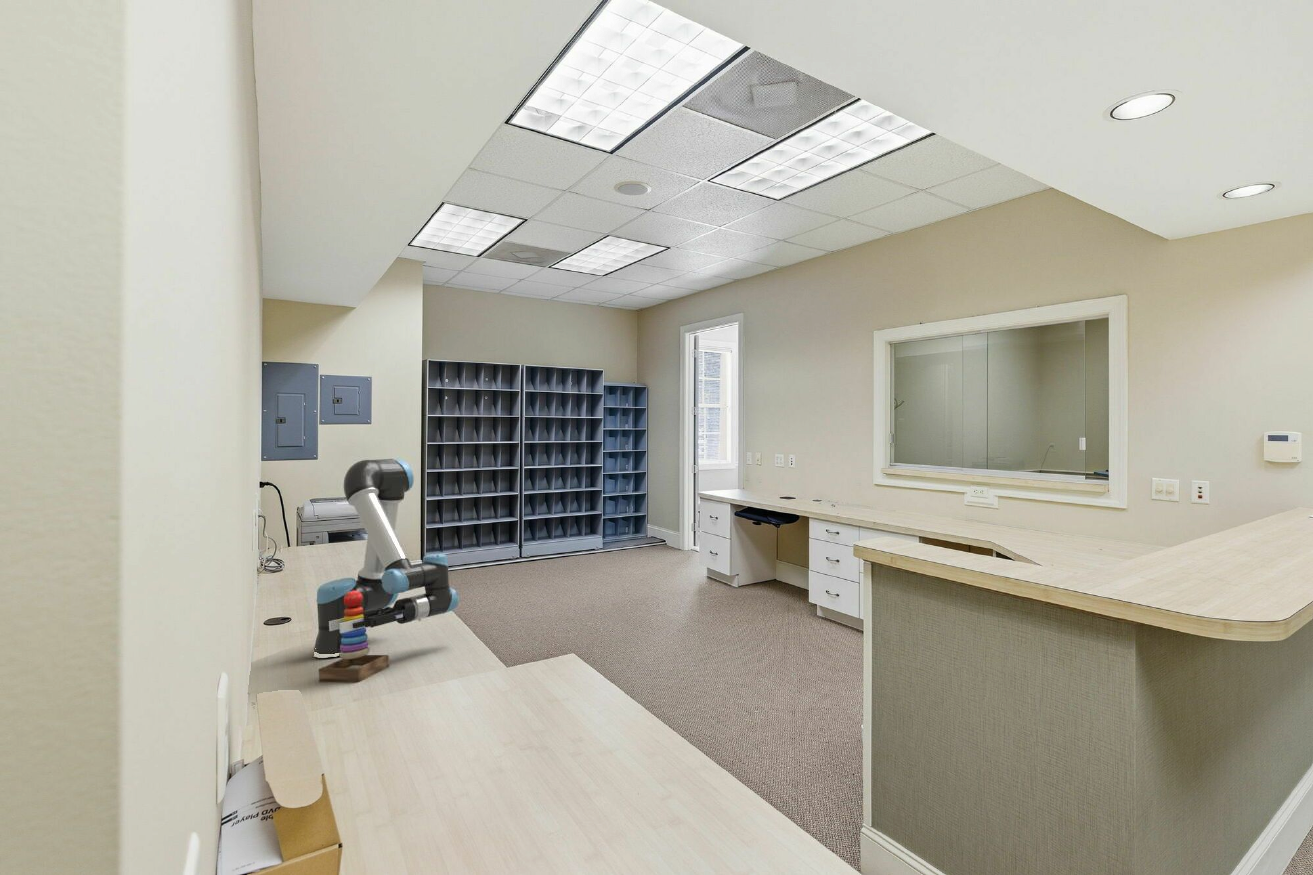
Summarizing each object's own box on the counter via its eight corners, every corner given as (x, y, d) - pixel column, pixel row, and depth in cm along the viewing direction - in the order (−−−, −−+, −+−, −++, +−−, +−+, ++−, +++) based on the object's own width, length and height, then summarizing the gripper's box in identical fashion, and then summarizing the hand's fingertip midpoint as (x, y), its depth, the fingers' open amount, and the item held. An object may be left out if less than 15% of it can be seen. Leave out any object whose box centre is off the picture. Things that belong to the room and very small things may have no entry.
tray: (351, 666, 189) (351, 654, 189) (389, 666, 186) (388, 654, 186) (319, 681, 176) (318, 668, 176) (358, 682, 173) (357, 669, 173)
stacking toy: (357, 659, 176) (354, 593, 178) (333, 660, 178) (329, 594, 179) (375, 651, 184) (372, 587, 185) (352, 652, 186) (348, 589, 187)
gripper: (427, 623, 190) (351, 644, 172) (395, 618, 201) (321, 637, 183) (426, 599, 190) (349, 616, 172) (394, 595, 202) (319, 611, 184)
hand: (335, 627), depth 178 cm, fingers closed on stacking toy, 6 cm apart
